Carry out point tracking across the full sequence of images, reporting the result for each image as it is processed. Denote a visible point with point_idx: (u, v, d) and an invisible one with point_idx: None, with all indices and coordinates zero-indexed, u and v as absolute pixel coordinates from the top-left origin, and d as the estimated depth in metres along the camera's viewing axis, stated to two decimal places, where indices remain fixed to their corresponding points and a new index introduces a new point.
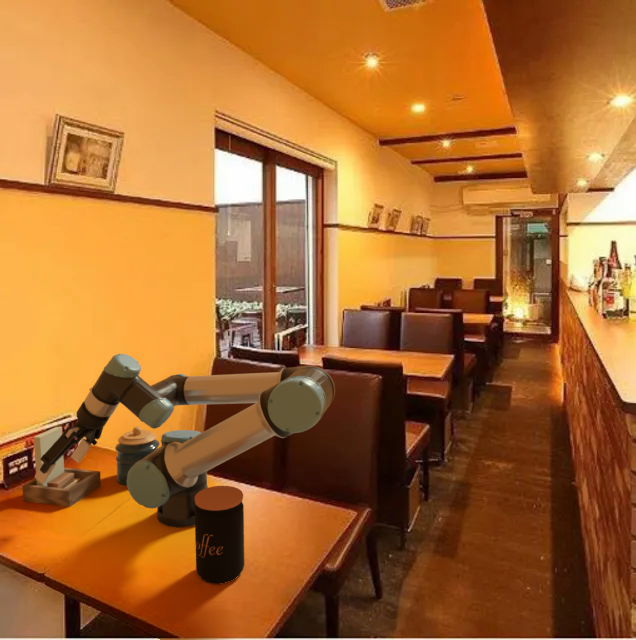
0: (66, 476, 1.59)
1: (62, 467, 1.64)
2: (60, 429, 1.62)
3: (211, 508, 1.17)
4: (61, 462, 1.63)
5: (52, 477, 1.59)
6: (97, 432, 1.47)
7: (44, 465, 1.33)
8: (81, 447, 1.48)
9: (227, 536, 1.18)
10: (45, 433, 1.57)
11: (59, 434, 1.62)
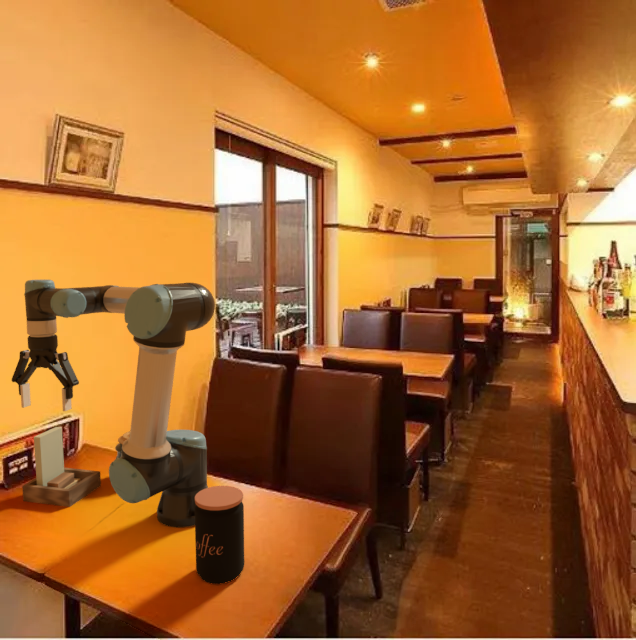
0: (66, 476, 1.59)
1: (62, 467, 1.64)
2: (60, 429, 1.62)
3: (211, 508, 1.17)
4: (61, 462, 1.63)
5: (52, 477, 1.59)
6: None
7: None
8: None
9: (227, 536, 1.18)
10: (45, 433, 1.57)
11: (59, 434, 1.62)
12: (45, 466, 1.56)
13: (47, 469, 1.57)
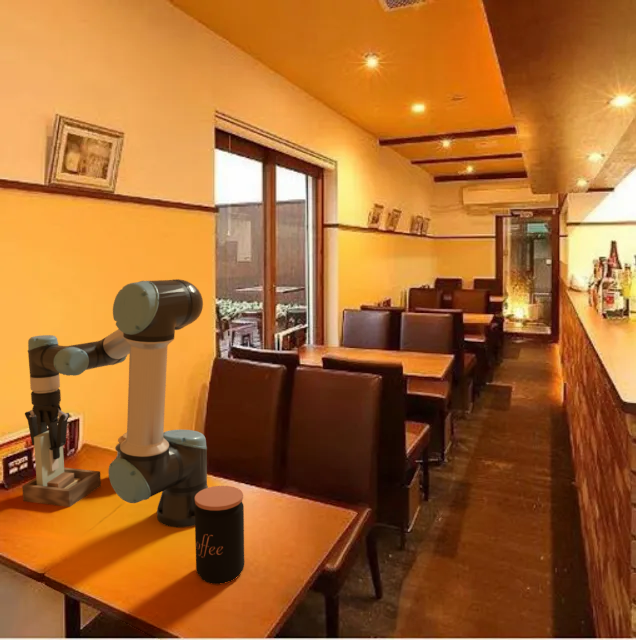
0: (66, 476, 1.59)
1: (62, 467, 1.64)
2: None
3: (211, 508, 1.17)
4: (61, 462, 1.63)
5: (52, 477, 1.59)
6: None
7: None
8: None
9: (227, 536, 1.18)
10: (45, 433, 1.57)
11: None
12: (45, 466, 1.56)
13: (47, 469, 1.57)
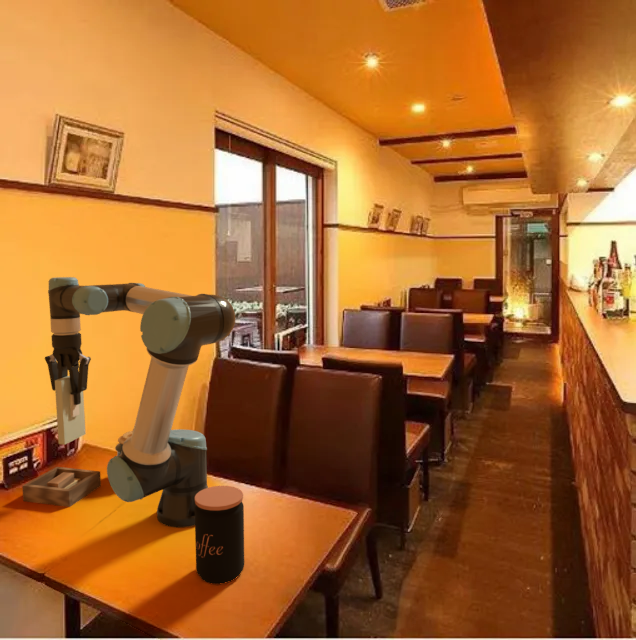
0: (66, 476, 1.59)
1: (83, 414, 1.60)
2: None
3: (211, 508, 1.17)
4: (82, 409, 1.59)
5: (73, 423, 1.55)
6: None
7: None
8: None
9: (227, 536, 1.18)
10: (66, 377, 1.53)
11: None
12: (66, 411, 1.52)
13: (68, 415, 1.53)
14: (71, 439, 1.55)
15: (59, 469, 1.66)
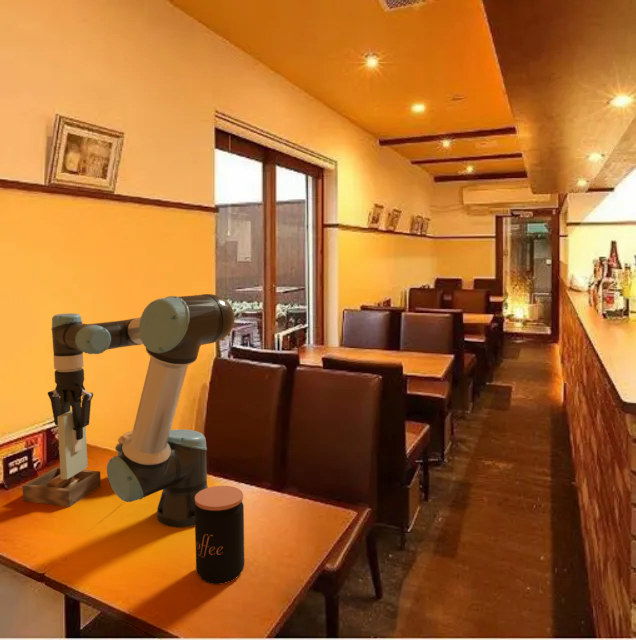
0: None
1: (85, 448, 1.61)
2: None
3: (211, 508, 1.17)
4: (84, 443, 1.60)
5: (75, 458, 1.57)
6: None
7: None
8: None
9: (227, 536, 1.18)
10: (68, 413, 1.55)
11: None
12: (68, 446, 1.54)
13: (70, 450, 1.55)
14: (73, 473, 1.56)
15: (59, 469, 1.66)
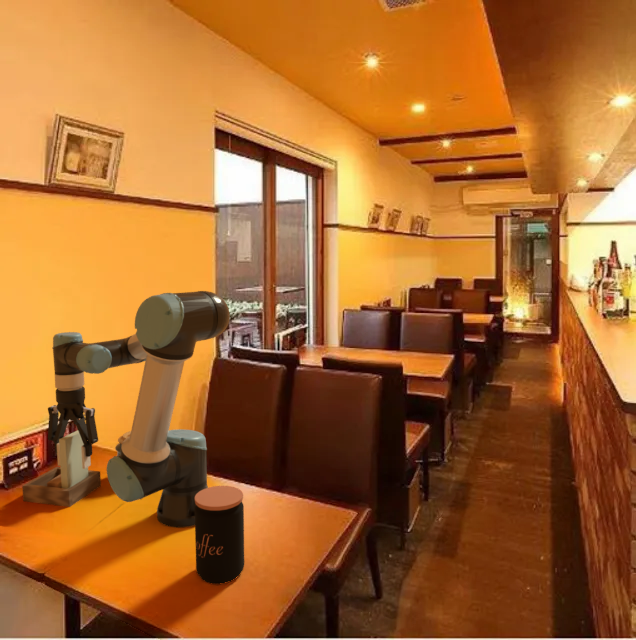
0: None
1: (86, 469, 1.62)
2: None
3: (211, 508, 1.17)
4: None
5: (77, 480, 1.58)
6: None
7: None
8: None
9: (227, 536, 1.18)
10: (70, 435, 1.56)
11: None
12: (70, 469, 1.54)
13: (72, 472, 1.55)
14: None
15: (59, 469, 1.66)
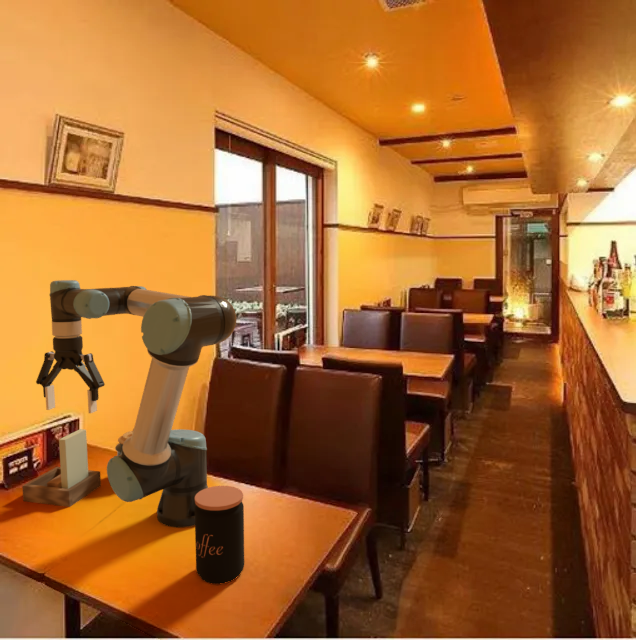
0: None
1: (86, 469, 1.62)
2: (84, 431, 1.60)
3: (211, 508, 1.17)
4: (85, 465, 1.61)
5: (77, 480, 1.58)
6: None
7: None
8: None
9: (227, 536, 1.18)
10: (70, 435, 1.56)
11: (83, 436, 1.60)
12: (70, 469, 1.54)
13: (72, 472, 1.55)
14: None
15: (59, 469, 1.66)
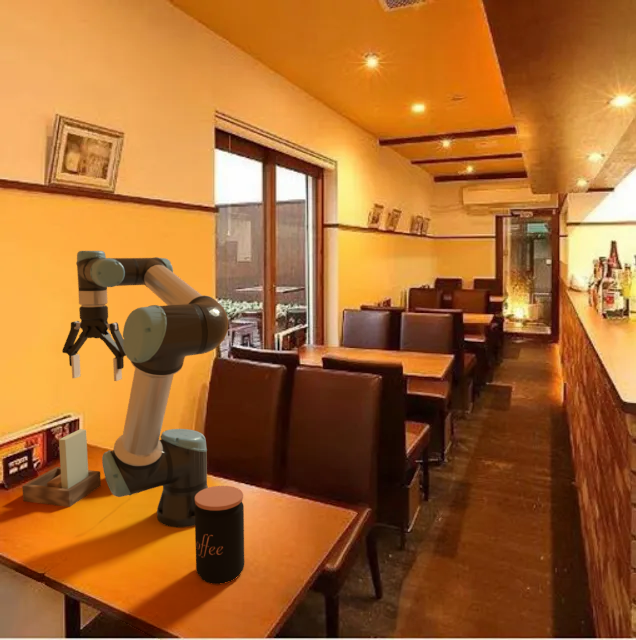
0: None
1: (86, 469, 1.62)
2: (84, 431, 1.60)
3: (211, 508, 1.17)
4: (85, 465, 1.61)
5: (77, 480, 1.58)
6: None
7: None
8: None
9: (227, 536, 1.18)
10: (70, 435, 1.56)
11: (83, 436, 1.60)
12: (70, 469, 1.54)
13: (72, 472, 1.55)
14: None
15: (59, 469, 1.66)
